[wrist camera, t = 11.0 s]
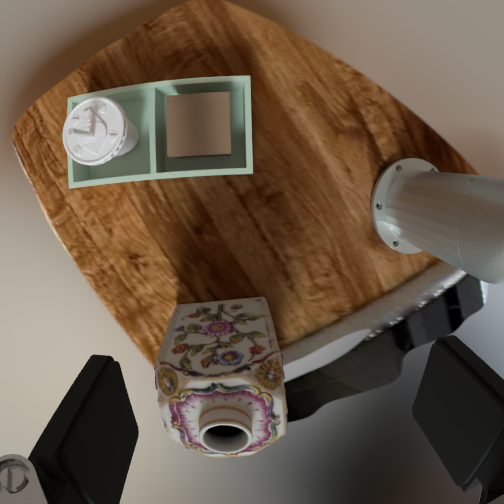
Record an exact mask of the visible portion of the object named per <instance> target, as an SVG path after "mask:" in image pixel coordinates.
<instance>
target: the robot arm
mask: <svg viewBox="0 0 504 504" xmlns="http://www.w3.org/2000/svg"><path fill="white" fill-rule="evenodd" d="M396 167H397V170H396ZM377 204H378V206H377V207H376V205H377ZM371 217H372V221H373V225H374V227H375V230H376V232H377V234H378V235H379V237H380V238H381V240H382V241H383V242H384V243H385V244H386V245H388V246H389V247H391V248H392V249H394V250H396V251H398V252H401V253H406V254H415V253H419V252H422V251H425V252H427V253H429V254H431V255H433V256H435V257H437V258H439V259H441V260H443V261H445V262H447V263H449V264H451V265H453V266H455V267H457V268H459V269H461V270H463V271H465V272H466V273H469V274H470V275H472V276H474V277H476V278H478V279H480V280H482V281H484V282H487V283H491V284H504V179H502V178H495V177H487V176H478V175H469V174H459V173H449V172H439V170H438V169H437V168H436V167H435V166H433V165H432V164H431V163H429V162H427V161H425V160H423V159H418V158H405V159H400V160H398V161H395V162H394V163H392V164H391V165H389V166H388V167H387V168H386V169H385V170H384V171H383V172H382V173H381V175H380V176H379V178H378V179H377V181H376V184H375V186H374V189H373V193H372V197H371ZM393 242H394V243H393ZM412 414H413V416H414V418H415V420H416V421H417V423H418V424H419V426H420V428H421V429H422V431H423V432H424V434H425V435H426V437H427V439H428V440H429V442H430V443H431V445H432V447H433V448H434V450H435V451H436V453H437V455H438V456H439V457H440V459H441V461H442V463H443V464H444V466H445V468H446V469H447V471H448V472H449V474H450V476H451V477H452V479H453V481H454V482H455V484H456V485H458V486H461V488H462V490H463V491H464V492H466V491H468V490H470V489H472V488H474V487H476V486H477V485H478V484H479V483H481V484H482V491H481V496H480V500H479V504H504V380H503V379H502V378H501V377H500V376H499V375H498V374H497V373H496V372H495V371H494V370H493V369H491V368H490V367H489V366H488V365H487V364H486V363H485V362H484V361H483V360H482V359H481V358H480V357H479V356H477V355H476V354H475V353H474V352H473V351H472V350H471V349H470V348H469V347H467V346H466V345H465V344H464V343H463V342H462V341H460V339H458V338H457V337H456V336H454V335H450V336H445V337H440V338H438V339H437V340H436V341H435V343H434V344H433V345H432V347H431V350H430V354H429V357H428V361H427V364H426V368H425V371H424V374H423V377H422V381H421V384H420V387H419V390H418V393H417V396H416V398H415V401H414V404H413V407H412ZM138 433H139V431H138V425H137V422H136V419H135V416H134V413H133V410H132V406H131V403H130V400H129V397H128V393H127V389H126V387H125V382H124V379H123V375H122V371H121V367H120V364H119V362H117V361H114V359H113V358H112V357H111V356H103V355H92V356H91V357H90V359H89V360H88V361H87V363H86V364H85V366H84V367H83V369H82V370H81V372H80V373H79V375H78V377H77V378H76V380H75V381H74V383H73V384H72V386H71V387H70V389H69V391H68V392H67V394H66V395H65V397H64V398H63V400H62V402H61V403H60V405H59V406H58V408H57V410H56V411H55V413H54V414H53V416H52V418H51V419H50V421H49V423H48V424H47V426H46V428H45V429H44V431H43V433H42V435H41V436H40V438H39V440H38V441H37V443H36V445H35V447H34V448H33V450H32V452H31V454H30V456H29V457H28V459H27V458H25V457H23V456H21V455H15V454H11V455H4V456H2V457H0V504H119V503H120V499H121V495H122V492H123V488H124V484H125V481H126V477H127V473H128V470H129V467H130V463H131V460H132V456H133V453H134V449H135V446H136V443H137V439H138Z"/></svg>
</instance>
